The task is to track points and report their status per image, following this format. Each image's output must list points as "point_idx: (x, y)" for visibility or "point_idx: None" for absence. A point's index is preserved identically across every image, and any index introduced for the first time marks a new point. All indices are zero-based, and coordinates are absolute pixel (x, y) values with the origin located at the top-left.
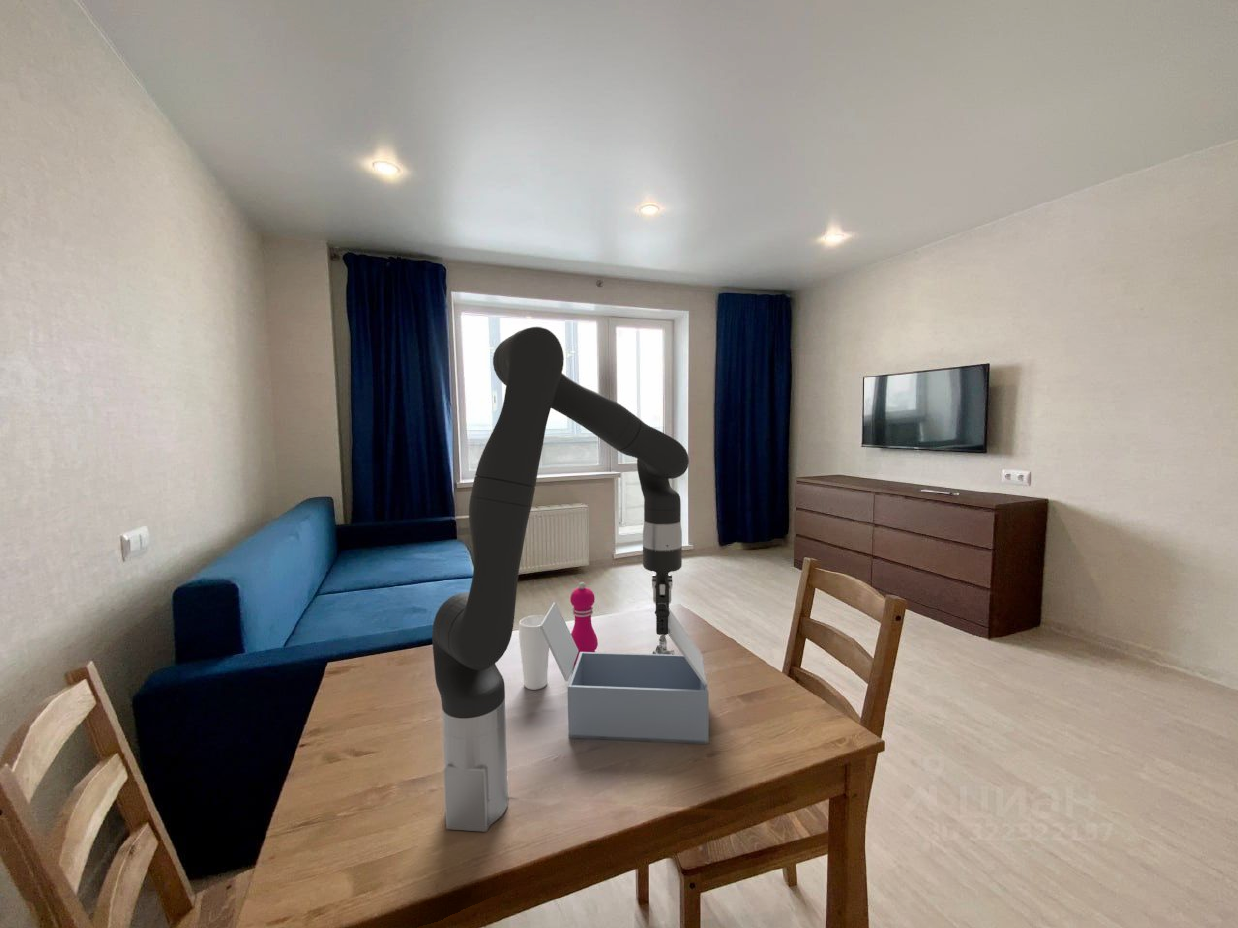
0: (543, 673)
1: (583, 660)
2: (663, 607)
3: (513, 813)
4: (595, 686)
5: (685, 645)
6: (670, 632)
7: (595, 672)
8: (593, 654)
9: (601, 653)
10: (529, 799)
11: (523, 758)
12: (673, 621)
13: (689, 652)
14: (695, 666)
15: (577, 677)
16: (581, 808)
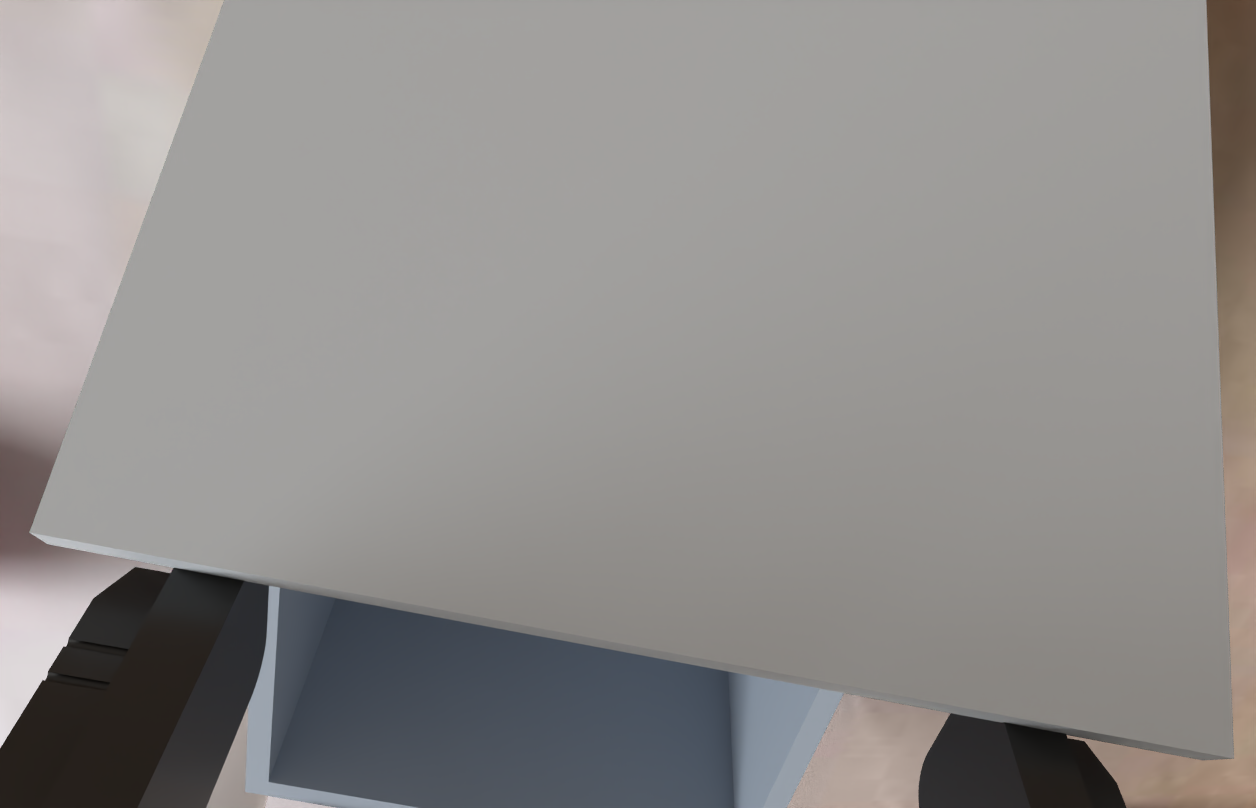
0: (231, 774)
1: (287, 727)
2: (201, 718)
3: (1149, 790)
4: (789, 757)
5: (883, 227)
6: (1205, 740)
7: (318, 595)
8: (274, 716)
9: (267, 677)
10: (1100, 750)
11: (840, 767)
12: (503, 478)
13: (949, 150)
14: (1152, 87)
15: (512, 759)
16: (1246, 600)
